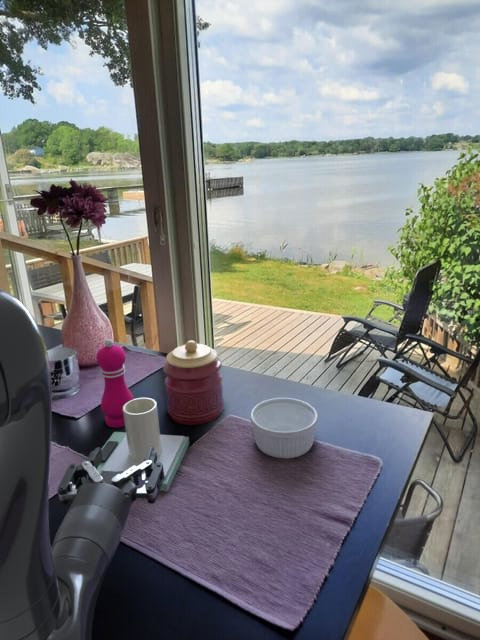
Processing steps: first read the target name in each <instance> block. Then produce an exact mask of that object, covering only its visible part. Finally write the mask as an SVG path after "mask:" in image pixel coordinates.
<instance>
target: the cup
mask: <svg viewBox="0 0 480 640" xmlns="http://www.w3.org/2000/svg"><path fill="white" fill-rule="evenodd" d="M157 403H158V402H157V401H156V399H154V398H150V397H137V398H134V399H133V400H131V401H129V402H127V403H126V404H125V405H124V406H123V415H124V422H125V426H124V429H125V433H126V436H127V443H128V450H129V456H130V458H131V459H132V460H133V461H136V462H144V458H145V456H146V453H147V450H148V447H154V450H156V452H157V457H158V456H159V455H160V454H161V452H162V447H161V438H160V435H161V430H160V422H159V413H158V412H159V411H158V404H157Z"/></svg>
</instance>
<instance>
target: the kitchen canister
mask: <svg viewBox="0 0 480 640" xmlns="http://www.w3.org/2000/svg"><path fill="white" fill-rule="evenodd" d="M165 360H166V362H165V363H164V365H163V367H162V370H163V372H164V374H165V376H166V377H165V379H164V385H165V391H166V403H167V404H166V407H167V413H168V414H169V417H170V419H172V420H173V421H174V422H176V423H178V424H181V425H190V426H194V425H195V426H196V425H204V424H206V423H210V422H213V421H214V420H216V419H218V418H219V417H220V416H221V415H222V413H223V411H224V407H225V399H224V396H223V395H224V394H223V393H224V392H223V375H222V373H221V371H220V370H221V369H222V366H223V363H222V361H221V359H219V358H218V352H217V350H215V349H214V348H212V347H210V346H208V345H206V344H203V343H197V342H196V341H195V340H188V341H186V342H185V344H182V345H179V346H177V347H175V348H174V349H173V350H172V351H170V352H168V353H167V354H166V359H165Z"/></svg>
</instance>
